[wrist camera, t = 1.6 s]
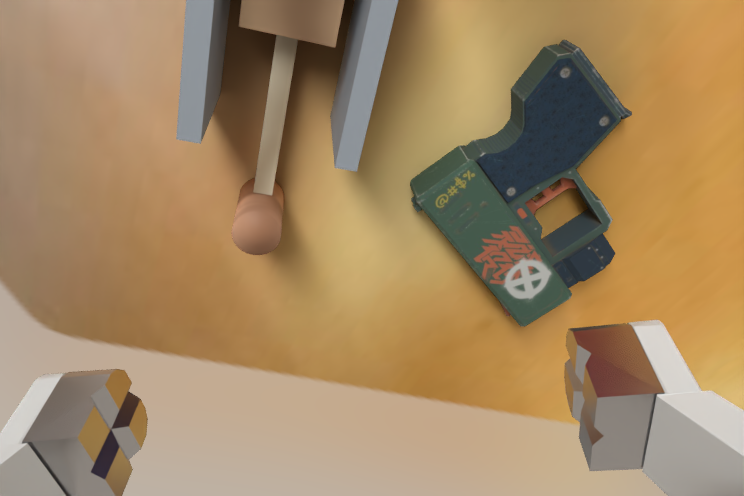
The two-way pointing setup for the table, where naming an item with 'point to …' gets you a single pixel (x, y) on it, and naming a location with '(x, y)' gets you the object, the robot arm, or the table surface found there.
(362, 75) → the grey u-shaped bracket
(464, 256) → the gun
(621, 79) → the table surface
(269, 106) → the wooden mallet
